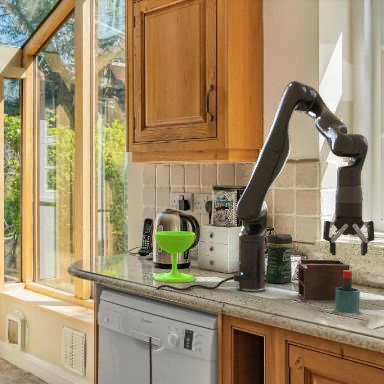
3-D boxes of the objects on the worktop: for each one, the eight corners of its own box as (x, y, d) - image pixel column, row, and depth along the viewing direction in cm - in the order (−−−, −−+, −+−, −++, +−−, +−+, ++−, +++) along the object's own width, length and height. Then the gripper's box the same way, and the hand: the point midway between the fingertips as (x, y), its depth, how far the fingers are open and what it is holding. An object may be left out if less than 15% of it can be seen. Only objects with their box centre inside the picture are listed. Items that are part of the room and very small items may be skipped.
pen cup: (337, 315, 174) (338, 291, 174) (332, 309, 181) (332, 286, 181) (362, 315, 173) (362, 292, 173) (355, 310, 180) (356, 287, 180)
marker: (343, 311, 176) (344, 271, 176) (341, 309, 179) (342, 270, 178) (352, 311, 176) (353, 271, 175) (350, 309, 178) (350, 270, 178)
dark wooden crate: (304, 301, 192) (304, 264, 191) (298, 294, 203) (298, 259, 202) (348, 302, 190) (349, 265, 190) (340, 295, 201) (340, 260, 201)
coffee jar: (278, 284, 220) (279, 235, 220) (262, 281, 227) (262, 233, 226) (295, 282, 226) (296, 233, 225) (279, 279, 232) (280, 231, 232)
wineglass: (202, 281, 228) (202, 234, 227) (163, 283, 222) (164, 236, 222) (184, 274, 243) (184, 230, 242) (147, 276, 237) (148, 231, 237)
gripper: (369, 200, 179) (369, 253, 180) (321, 200, 181) (321, 253, 181) (377, 201, 172) (377, 257, 172) (327, 201, 173) (326, 256, 174)
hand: (348, 255), depth 177 cm, fingers open, 8 cm apart
